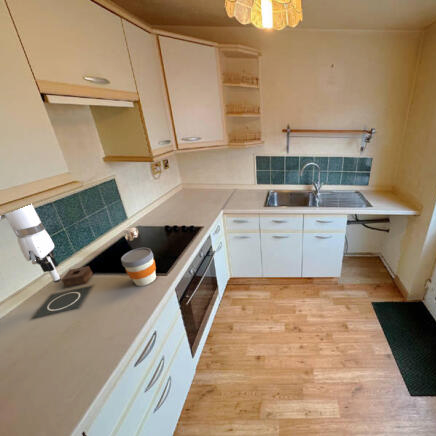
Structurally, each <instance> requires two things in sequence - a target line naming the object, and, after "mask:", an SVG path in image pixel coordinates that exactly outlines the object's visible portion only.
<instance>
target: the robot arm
mask: <svg viewBox="0 0 436 436" xmlns="http://www.w3.org/2000/svg"><path fill="white" fill-rule="evenodd" d="M4 219H6V220H7V222H8V224H9V226H10V227H11V229H12V230H13V232H14V234H15V235H16V237H17V243H18V246H19V249H20V250H21V251H20V252H21V253H22V255H23V257H24V258H25V260H26V261H27V262H29V261H31V264H32V265H38V266H39V267H40V268H41V270H42V271H43V272H44V273H49V271H53V270H54V267H53V266H52V264H51V262H49V261H48V259H47V257H46V256H50V258H51V260H52V262H53V264H54V266H55V268H56V267H58V266H59V264H58V261H57V260H56V257H55V254H54V249H55V243H54V241H53V239H52V238H51V236H50V234H49V233H48V232H47V230H46V228H45V226H44V225H43V222H42V221H41V219H40V216H39V215H38V213H37V211H36V209H35V207H34V206H33V204H32V203H31V205H28V206H25V207H23V208H20V209H18V210H15V211H13V212H10V213H7V214H4V215H2V216H0V221H2V220H4ZM42 259H43V260H42Z"/></svg>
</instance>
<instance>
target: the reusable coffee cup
mask: <svg viewBox="0 0 436 436" xmlns="http://www.w3.org/2000/svg"><path fill="white" fill-rule="evenodd" d="M120 261H121V265H122V267H124V268H125V269H124V270H125V272H126V274H127V275H128V277H129V278H130V279H131V280H132V281H133V283H134V284H135V285H136V286H138V287H143V286H146V285H149V284H151V283H153V282H154V281H155V280H156V279H157V274H156V270H157V267H156V261H155V258H154V253H153V251H152V249H151V248H149V247H143V248H138V249H134V250H132V249H131V250H129V251H127V252H126V253H124V254H123V255H122V256H121V258H120Z"/></svg>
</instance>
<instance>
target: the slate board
mask: <svg viewBox="0 0 436 436" xmlns="http://www.w3.org/2000/svg"><path fill="white" fill-rule="evenodd" d="M91 288H92V285H91V286H86V287H82V288H77V289H72V290H67V291H63V292H59V293H58V292H57V293H54V294H51V295H50V296H49V297H48V298H47V300H46V301H45V302H44V303H43V305H42V306H41V307H40V308H39V310H38V311H37V312H36V313H35V315H34V316H33V317H32V320H34V319H38V318H42V317H47V316H51V315H56V314H59V313H63V312H68V311H72V310H76V309H79V308H80V306H81V305H82V303H83V301H84V300H85V298H86V296H87V295H88V293H89V292H90V290H91Z"/></svg>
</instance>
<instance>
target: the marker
mask: <svg viewBox="0 0 436 436" xmlns="http://www.w3.org/2000/svg"><path fill="white" fill-rule="evenodd" d="M46 257H47V259H48V261H49V262H51V264H52V266H53V267H54V270H53V271H48V274H49V275H50V277H51V279H52V282H53V283H54V284H57V283H60V282H62V278H61V277H60V274H59V272H58V271H57V269H56V267H55V266H54V264H53V262H52V260H51V258H50V256H46ZM41 260H43V259H41Z"/></svg>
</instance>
